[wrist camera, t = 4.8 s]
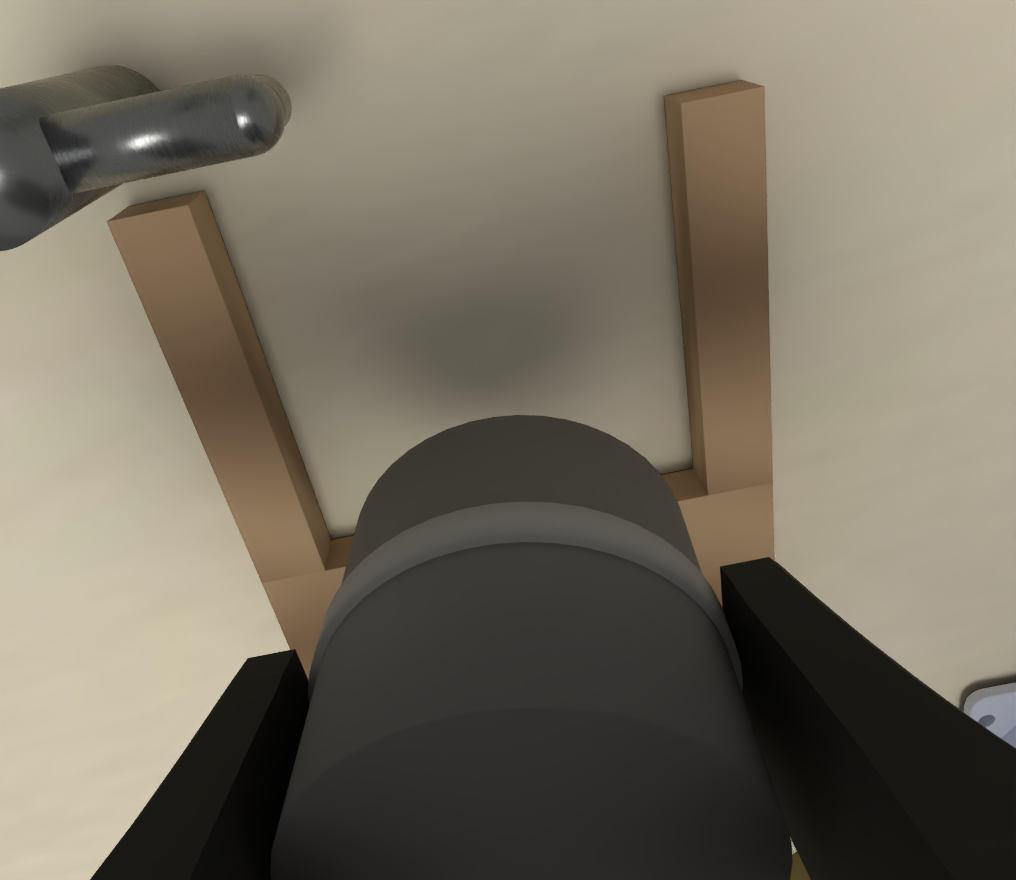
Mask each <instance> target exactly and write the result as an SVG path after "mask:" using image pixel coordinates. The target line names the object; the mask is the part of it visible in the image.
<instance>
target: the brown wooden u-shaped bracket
mask: <svg viewBox="0 0 1016 880" xmlns="http://www.w3.org/2000/svg"><path fill="white" fill-rule="evenodd" d="M664 101H665V114H666V126H667V139H668V152H669V165H670V177H671V190H672V203H673V215H674V228H675V241H676V254H677V266H678V279H679V292H680V305H681V317H682V330H683V343H684V356H685V368H686V381H687V394H688V406H689V419H690V432H691V445H692V457H693V469H689V470H684V471H679V472H674V473H669V474H664V475H661V476H662V477H663V478H664V480H665V481H666V482H667V484H668V485H669V487H670V488H671V490H672V492H673V494H674V496H675V498H676V500H677V502H678V504H679V506H680V509H681V512H682V515H683V518H684V521H685V524H686V527H687V530H688V533H689V536H690V539H691V542H692V545H693V548H694V551H695V554H696V557H697V560H698V563H699V566H700V569H701V572H702V574H703V576H704V577H705V578H706V580H707V581H708V582H709V584H710V585H711V586H712V588H713V590H714V592H715V594H716V596H717V598H718V600H719V602H720V604H721V606H722V593H721V577H720V566H725V565H730V564H735V563H740V562H746V561H751V560H756V559H761V558H766V557H770V558H771V559H773V560H774V528H773V480H772V432H771V385H770V337H769V289H768V242H767V194H766V146H765V99H764V86H761V85H757V84H754V83H750V82H747V81H743V80H740V81H735V82H730V83H725V84H720V85H716V86H711V87H706V88H701V89H696V90H691V91H686V92H682V93H677V94H672V95H667V96H664ZM107 223H108V226H109V228H110V230H111V233H112V235H113V237H114V240H115V242H116V244H117V247H118V249H119V251H120V254H121V256H122V258H123V261H124V263H125V265H126V267H127V270H128V272H129V274H130V277H131V279H132V281H133V284H134V286H135V288H136V291H137V293H138V295H139V298H140V300H141V302H142V305H143V307H144V309H145V312H146V314H147V316H148V319H149V321H150V323H151V326H152V328H153V330H154V333H155V335H156V337H157V340H158V342H159V344H160V347H161V349H162V351H163V354H164V356H165V358H166V361H167V363H168V365H169V368H170V370H171V372H172V375H173V377H174V379H175V382H176V384H177V386H178V389H179V391H180V393H181V396H182V398H183V400H184V403H185V405H186V407H187V410H188V412H189V414H190V417H191V419H192V421H193V424H194V426H195V428H196V431H197V433H198V435H199V438H200V440H201V442H202V445H203V447H204V449H205V452H206V454H207V456H208V459H209V461H210V463H211V466H212V468H213V470H214V473H215V475H216V477H217V480H218V482H219V484H220V487H221V489H222V491H223V493H224V496H225V498H226V500H227V503H228V505H229V507H230V510H231V512H232V514H233V517H234V519H235V521H236V524H237V526H238V528H239V531H240V533H241V535H242V538H243V540H244V542H245V545H246V547H247V549H248V552H249V554H250V556H251V559H252V561H253V563H254V566H255V568H256V570H257V573H258V575H259V577H260V580H261V582H262V584H263V587H264V589H265V591H266V594H267V596H268V598H269V601H270V603H271V605H272V608H273V610H274V612H275V615H276V617H277V619H278V622H279V624H280V626H281V629H282V631H283V633H284V636H285V638H286V640H287V643H288V645H289V647H290V650H293V649H295V650H296V652H297V654H298V657H299V659H300V661H301V664H302V666H303V668H304V671H305V673H306V676H307V678H308V680H309V672H310V668H311V664H312V660H313V657H314V653H315V649H316V645H317V642H318V638H319V635H320V631H321V627H322V624H323V620H324V616H325V614H326V612H327V610H328V608H329V605H330V603H331V601H332V599H333V597H334V595H335V594H336V592H337V591H338V589H339V588H340V586H341V584H342V580H343V576H344V572H345V569H346V565H347V561H348V557H349V553H350V549H351V546H352V542H353V538H354V536H349V537H344V538H339V539H334V540H331V539H330V536H329V533H328V530H327V528H326V525H325V522H324V519H323V517H322V514H321V511H320V508H319V506H318V503H317V500H316V497H315V495H314V492H313V489H312V486H311V484H310V481H309V478H308V475H307V472H306V470H305V467H304V464H303V461H302V459H301V456H300V453H299V450H298V448H297V445H296V442H295V439H294V437H293V434H292V431H291V428H290V425H289V423H288V420H287V417H286V414H285V412H284V409H283V406H282V403H281V401H280V398H279V395H278V392H277V390H276V387H275V384H274V381H273V378H272V376H271V373H270V370H269V367H268V365H267V362H266V359H265V356H264V354H263V351H262V348H261V345H260V343H259V340H258V337H257V334H256V332H255V329H254V326H253V323H252V320H251V318H250V315H249V312H248V309H247V307H246V304H245V301H244V298H243V296H242V293H241V290H240V287H239V285H238V282H237V279H236V276H235V273H234V271H233V268H232V265H231V262H230V260H229V257H228V254H227V251H226V249H225V246H224V243H223V240H222V238H221V235H220V232H219V229H218V226H217V224H216V221H215V218H214V215H213V213H212V210H211V207H210V204H209V202H208V199H207V196H206V193H205V191H201V192H196V193H191V194H186V195H181V196H177V197H172V198H167V199H162V200H157V201H152V202H147V203H143V204H138V205H133V206H129V207H127V208H126V209H124V210H123V211H121V212H120V213H119V214H117V215H116V216H114V217H113V218H111V219H110V220H108V221H107Z"/></svg>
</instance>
